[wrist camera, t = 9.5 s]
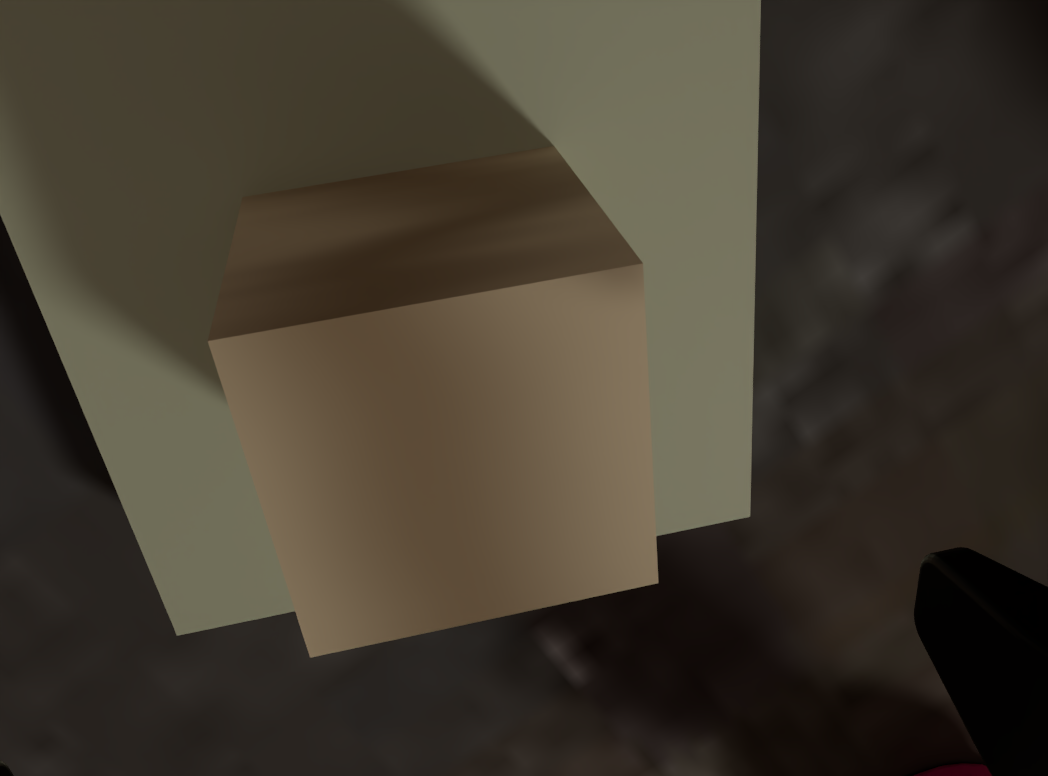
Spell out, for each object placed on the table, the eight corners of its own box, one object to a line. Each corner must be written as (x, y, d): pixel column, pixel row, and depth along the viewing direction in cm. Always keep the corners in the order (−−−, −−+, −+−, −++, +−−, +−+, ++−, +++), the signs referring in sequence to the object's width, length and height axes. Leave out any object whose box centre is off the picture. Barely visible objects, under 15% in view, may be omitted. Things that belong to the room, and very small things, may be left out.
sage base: (694, -128, 16) (763, -123, 14) (702, 440, 22) (750, 516, 20) (-21, -31, 15) (-92, -6, 12) (195, 540, 21) (177, 635, 19)
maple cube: (554, 145, 15) (642, 263, 11) (579, 405, 18) (658, 582, 13) (242, 197, 15) (208, 341, 10) (314, 457, 17) (310, 657, 13)
